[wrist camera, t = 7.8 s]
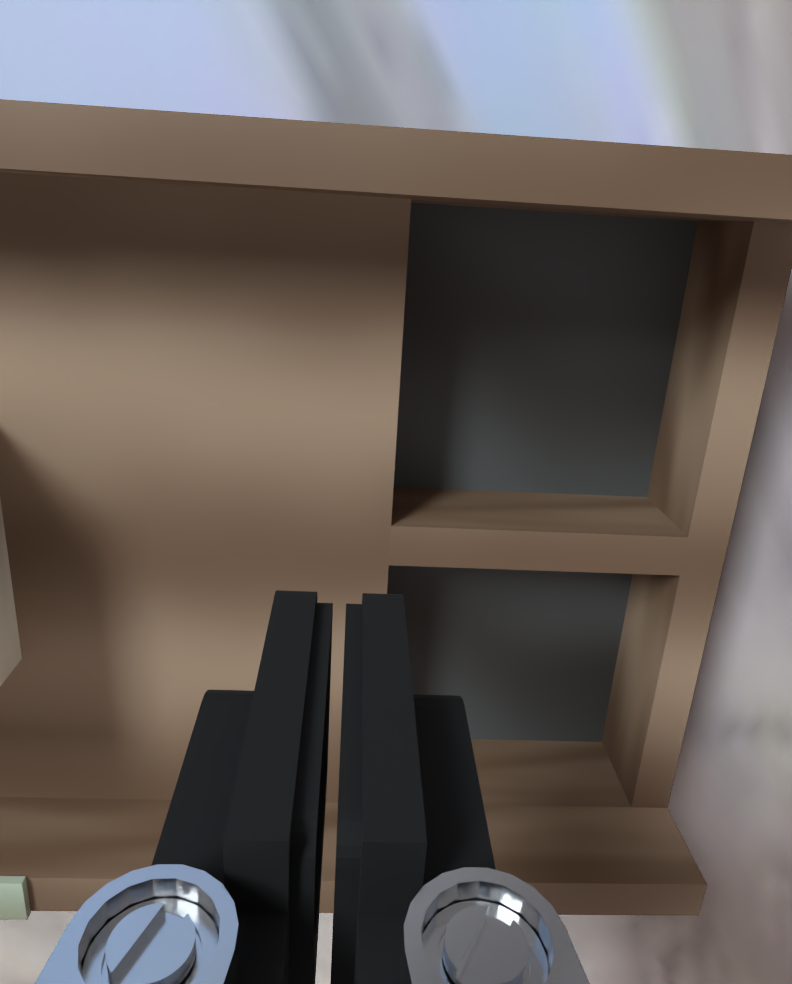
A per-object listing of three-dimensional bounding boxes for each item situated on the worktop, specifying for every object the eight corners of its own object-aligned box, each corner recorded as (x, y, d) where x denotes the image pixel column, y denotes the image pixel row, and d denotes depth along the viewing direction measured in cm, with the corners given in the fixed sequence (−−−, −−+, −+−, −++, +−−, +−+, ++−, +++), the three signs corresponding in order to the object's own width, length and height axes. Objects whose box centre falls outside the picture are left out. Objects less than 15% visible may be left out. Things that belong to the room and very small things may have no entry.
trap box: (-326, 103, 16) (-740, 34, 10) (742, 176, 18) (942, 154, 12) (-169, 747, 22) (-372, 950, 16) (624, 763, 24) (716, 954, 17)
